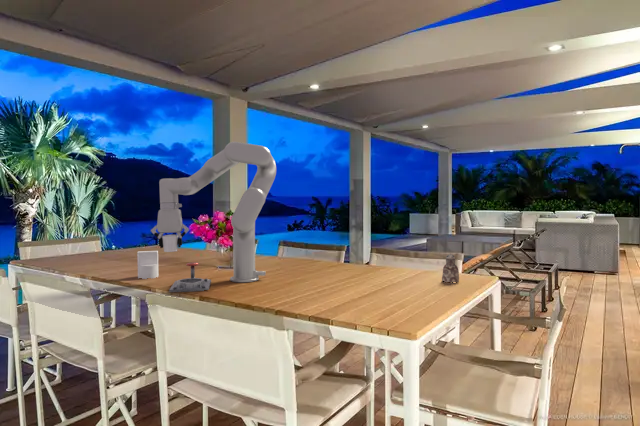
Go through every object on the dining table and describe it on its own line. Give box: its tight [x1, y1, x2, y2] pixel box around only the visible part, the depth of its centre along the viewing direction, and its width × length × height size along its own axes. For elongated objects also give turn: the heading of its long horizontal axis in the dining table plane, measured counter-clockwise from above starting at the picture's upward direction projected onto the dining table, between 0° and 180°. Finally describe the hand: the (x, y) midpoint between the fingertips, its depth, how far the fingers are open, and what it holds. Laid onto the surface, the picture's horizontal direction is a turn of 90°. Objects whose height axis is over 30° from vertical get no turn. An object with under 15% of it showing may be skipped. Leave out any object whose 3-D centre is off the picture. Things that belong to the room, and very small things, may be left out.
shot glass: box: [162, 234, 179, 253], centre depth 196 cm, size 7×7×7 cm
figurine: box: [441, 253, 460, 283], centre depth 194 cm, size 7×7×12 cm
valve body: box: [168, 262, 212, 293], centre depth 186 cm, size 15×19×9 cm
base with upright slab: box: [136, 250, 159, 280], centre depth 208 cm, size 9×9×12 cm
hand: (170, 247), depth 196 cm, fingers closed on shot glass, 6 cm apart
